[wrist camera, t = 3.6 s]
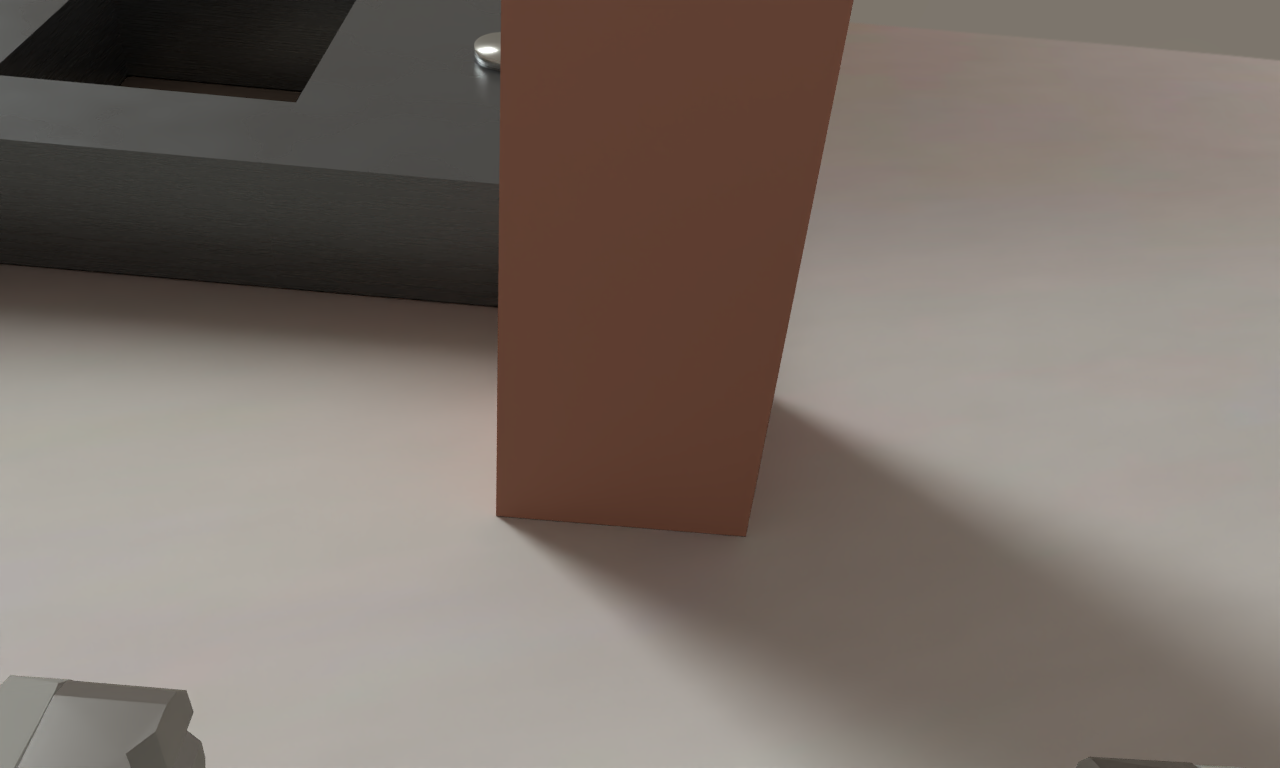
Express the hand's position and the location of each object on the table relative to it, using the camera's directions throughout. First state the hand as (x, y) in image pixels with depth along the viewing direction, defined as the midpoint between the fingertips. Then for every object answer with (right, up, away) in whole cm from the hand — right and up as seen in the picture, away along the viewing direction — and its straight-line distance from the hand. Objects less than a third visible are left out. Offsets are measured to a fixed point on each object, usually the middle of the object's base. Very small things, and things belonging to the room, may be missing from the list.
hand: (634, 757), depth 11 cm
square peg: (0, +2, +12) cm, 12 cm away
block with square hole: (-11, +10, +19) cm, 24 cm away
